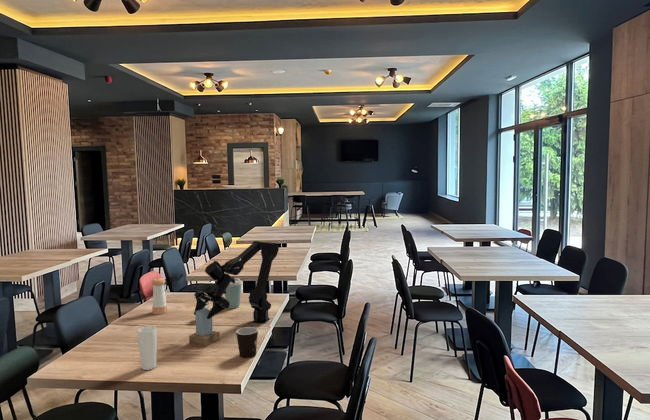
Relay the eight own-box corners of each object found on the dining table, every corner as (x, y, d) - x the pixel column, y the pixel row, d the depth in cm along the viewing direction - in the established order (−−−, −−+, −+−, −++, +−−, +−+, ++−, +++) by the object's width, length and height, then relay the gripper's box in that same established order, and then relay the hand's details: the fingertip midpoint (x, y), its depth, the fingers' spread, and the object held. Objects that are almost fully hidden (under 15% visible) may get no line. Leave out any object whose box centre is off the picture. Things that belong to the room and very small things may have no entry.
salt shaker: (170, 311, 236) (168, 276, 235) (158, 315, 230) (156, 279, 229) (161, 309, 240) (159, 274, 239) (149, 313, 234) (147, 277, 232)
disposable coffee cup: (240, 309, 237) (239, 282, 236) (220, 310, 237) (219, 282, 236) (244, 303, 247) (243, 277, 246) (225, 304, 248) (224, 277, 246)
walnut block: (204, 337, 198) (203, 328, 198) (219, 340, 194) (219, 331, 194) (189, 344, 190) (189, 335, 190) (205, 348, 186) (205, 338, 186)
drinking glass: (142, 364, 170) (140, 326, 169) (160, 363, 171) (158, 325, 169) (136, 372, 163) (134, 332, 162) (155, 371, 164) (153, 331, 163)
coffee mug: (248, 361, 171) (247, 336, 170) (232, 356, 176) (231, 332, 175) (268, 350, 181) (267, 327, 180) (252, 346, 185) (251, 323, 185)
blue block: (205, 330, 195) (205, 308, 195) (212, 333, 192) (212, 310, 192) (196, 333, 192) (195, 311, 191) (202, 336, 188) (202, 313, 188)
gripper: (196, 273, 199) (176, 303, 191) (223, 278, 187) (202, 310, 179) (211, 286, 205) (192, 316, 198) (238, 292, 194) (218, 324, 186)
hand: (200, 316), depth 190 cm, fingers open, 9 cm apart
